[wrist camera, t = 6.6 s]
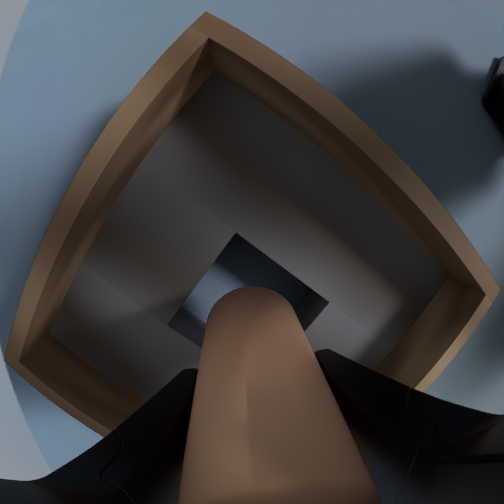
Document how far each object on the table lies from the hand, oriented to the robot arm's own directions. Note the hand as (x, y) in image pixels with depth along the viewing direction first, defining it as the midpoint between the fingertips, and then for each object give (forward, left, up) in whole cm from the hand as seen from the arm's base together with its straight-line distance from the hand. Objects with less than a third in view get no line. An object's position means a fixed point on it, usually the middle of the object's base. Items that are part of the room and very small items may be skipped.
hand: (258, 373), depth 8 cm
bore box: (0, 0, -7) cm, 7 cm away
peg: (0, 0, -3) cm, 3 cm away
